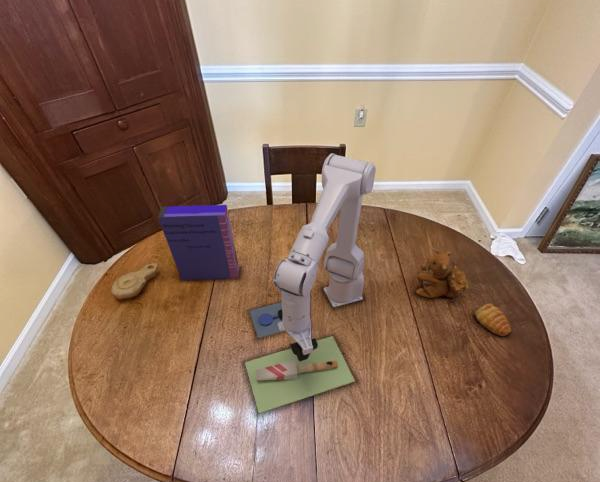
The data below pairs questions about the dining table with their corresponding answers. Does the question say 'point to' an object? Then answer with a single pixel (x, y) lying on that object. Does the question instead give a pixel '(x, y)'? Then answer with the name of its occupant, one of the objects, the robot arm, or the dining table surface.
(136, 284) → the oil lamp
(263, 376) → the paintbrush
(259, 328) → the spoon pad
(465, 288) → the stuffed squirrel
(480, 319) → the pastry
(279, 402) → the brush mat
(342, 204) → the robot arm
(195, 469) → the dining table surface
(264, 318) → the spoon
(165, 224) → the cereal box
